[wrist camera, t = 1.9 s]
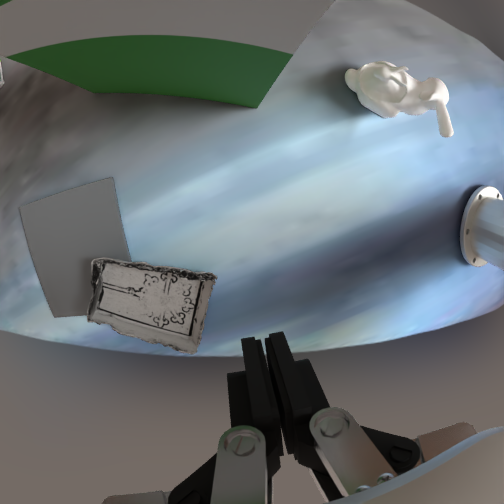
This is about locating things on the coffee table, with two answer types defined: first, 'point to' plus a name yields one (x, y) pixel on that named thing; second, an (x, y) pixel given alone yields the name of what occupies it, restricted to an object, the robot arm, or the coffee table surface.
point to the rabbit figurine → (399, 93)
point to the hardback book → (161, 43)
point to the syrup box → (1, 77)
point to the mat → (73, 242)
